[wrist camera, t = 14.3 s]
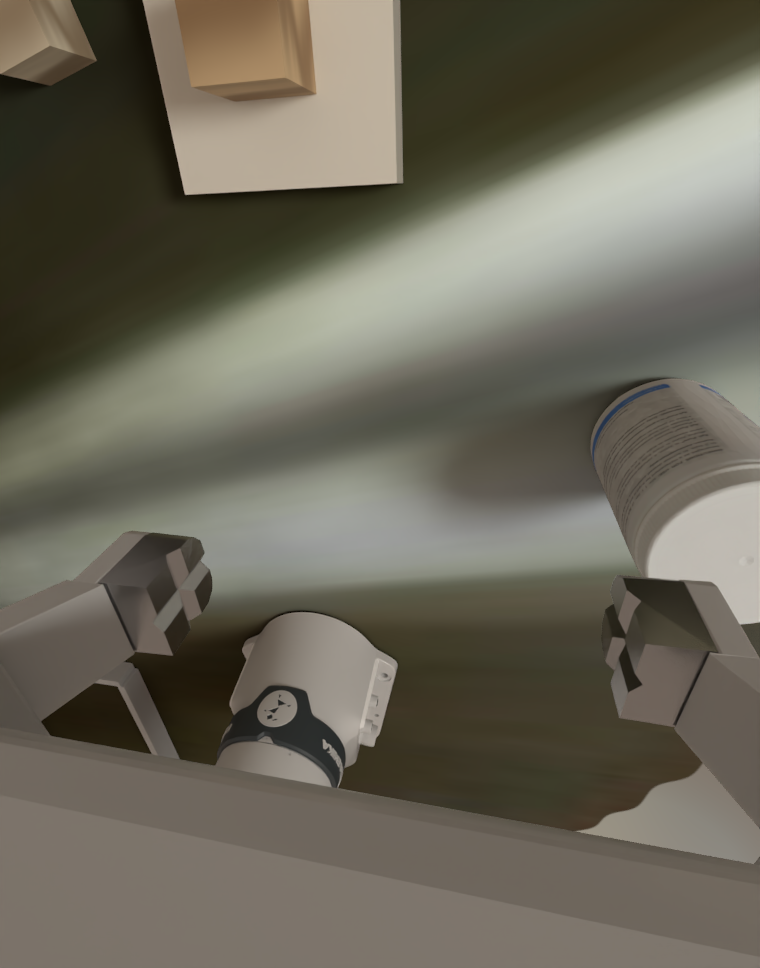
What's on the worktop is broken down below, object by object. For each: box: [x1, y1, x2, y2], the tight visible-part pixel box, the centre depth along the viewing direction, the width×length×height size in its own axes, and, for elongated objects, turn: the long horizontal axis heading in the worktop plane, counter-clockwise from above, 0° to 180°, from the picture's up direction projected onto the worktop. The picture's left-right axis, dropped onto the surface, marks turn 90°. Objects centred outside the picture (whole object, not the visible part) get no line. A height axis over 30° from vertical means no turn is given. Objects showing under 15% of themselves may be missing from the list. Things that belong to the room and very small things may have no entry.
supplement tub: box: [590, 379, 760, 624], centre depth 30 cm, size 10×10×15 cm
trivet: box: [143, 0, 403, 195], centre depth 28 cm, size 14×14×2 cm
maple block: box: [0, 0, 97, 86], centre depth 29 cm, size 4×4×4 cm
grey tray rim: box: [95, 662, 179, 759], centre depth 74 cm, size 28×26×3 cm
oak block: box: [175, 0, 317, 102], centre depth 25 cm, size 5×5×5 cm
